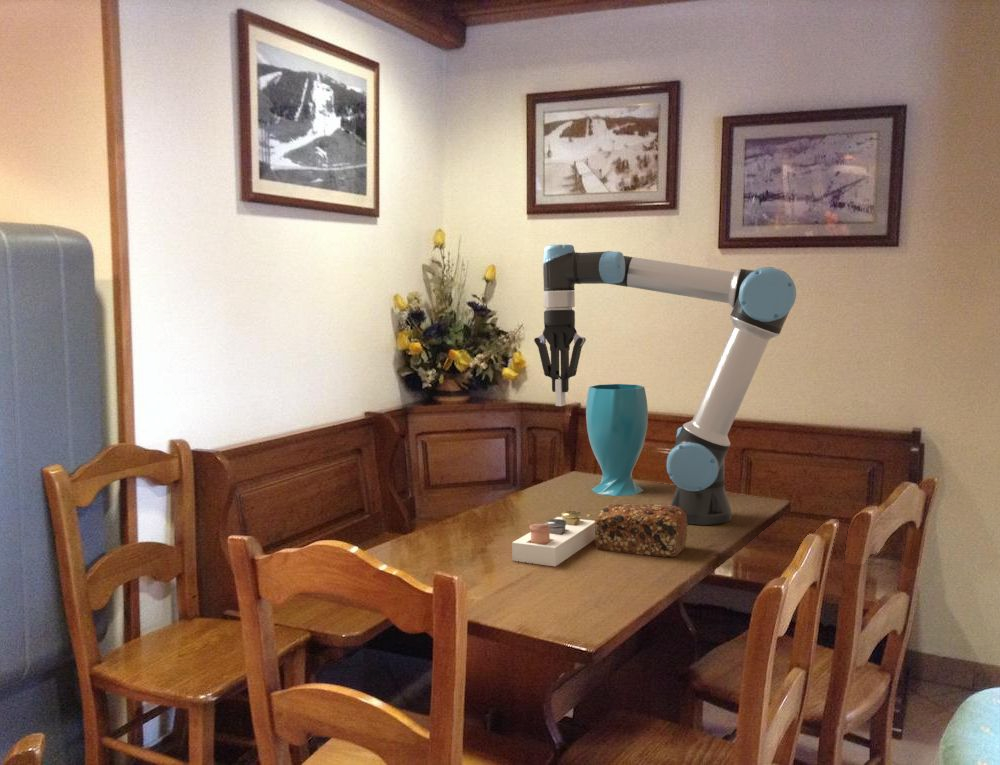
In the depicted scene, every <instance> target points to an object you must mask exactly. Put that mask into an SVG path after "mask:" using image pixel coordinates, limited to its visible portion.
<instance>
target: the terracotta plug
mask: <svg viewBox="0 0 1000 765" xmlns="http://www.w3.org/2000/svg"><path fill="white" fill-rule="evenodd" d="M529 531H530V532H531V543H534V544H542V545H546V544H548V543H550V525H548V524H546V523H534V524H530V525H529Z"/></svg>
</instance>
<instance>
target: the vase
mask: <svg viewBox="0 0 1000 765" xmlns="http://www.w3.org/2000/svg"><path fill="white" fill-rule="evenodd" d="M585 404H586V405H585V406H586V407H585V418H586V422H585V423H586V430H587V431H586V432H587V435H588V441H589V444H590V448H591V450H592V453H593V455H594V456H595V459H596V461H597V463H598V465H599V467H600V470H601V473H602V474H601V480H600V483H599V484H598V485H596V486H595V487H593V488H592V489H591V491H593V492H594V493H595V494H596V495H604V496H605V495H606V496H615V497H623V496H635V495H637V494H640V493H642V492H644V489H643V488H642V487H640V486H639V484H637V483H636V482H635V481H634V479H633V476H632V473H633V470H634V468H635V466H636V465H637V462H638V460H639V457H640V455H641V452H642V450H643V448H644V445H645V440H646V436H647V431H648V420H649V419H648V418H649V412H648V411H649V410H648V400H647V393H646V388H645V386H643V385H639V384H628V383H627V384H626V383H615V384H614V383H613V384H612V383H610V384H609V383H608V384H606V383H605V384H595V385H592V386H588V391H587V397H586V402H585Z"/></svg>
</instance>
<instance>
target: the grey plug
mask: <svg viewBox="0 0 1000 765" xmlns="http://www.w3.org/2000/svg"><path fill="white" fill-rule="evenodd" d="M545 524H548V525H550V534H558V535H562V534H564V533H565V526H566V521H565V520H562V519H554V518H551V519H548V520H546V521H545Z"/></svg>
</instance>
